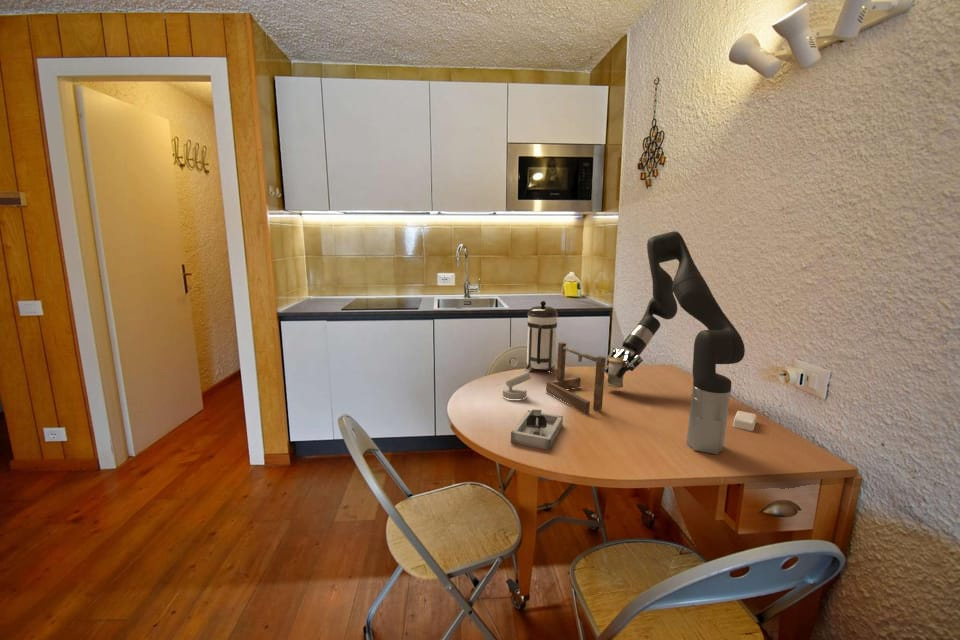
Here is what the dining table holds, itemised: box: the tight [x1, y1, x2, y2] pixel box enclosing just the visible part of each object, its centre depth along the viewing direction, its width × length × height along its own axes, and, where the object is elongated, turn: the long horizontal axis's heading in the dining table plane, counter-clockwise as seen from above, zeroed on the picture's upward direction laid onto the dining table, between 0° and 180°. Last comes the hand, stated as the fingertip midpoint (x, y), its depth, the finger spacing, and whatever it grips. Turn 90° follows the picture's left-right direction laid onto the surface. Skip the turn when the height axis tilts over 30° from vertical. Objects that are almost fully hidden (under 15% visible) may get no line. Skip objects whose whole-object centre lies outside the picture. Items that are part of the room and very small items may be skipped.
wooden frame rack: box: [545, 341, 607, 415], centre depth 155 cm, size 15×22×18 cm, turn 27°
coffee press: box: [525, 300, 559, 374], centre depth 186 cm, size 17×16×30 cm
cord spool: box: [606, 357, 625, 389], centre depth 163 cm, size 6×6×10 cm
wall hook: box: [502, 370, 532, 399], centre depth 157 cm, size 9×10×10 cm
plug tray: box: [510, 410, 564, 450], centre depth 129 cm, size 17×11×3 cm, turn 157°
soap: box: [732, 410, 758, 432], centre depth 137 cm, size 9×6×3 cm, turn 143°
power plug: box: [527, 409, 547, 436], centre depth 130 cm, size 6×8×12 cm
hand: (612, 374), depth 162 cm, fingers closed on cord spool, 5 cm apart
